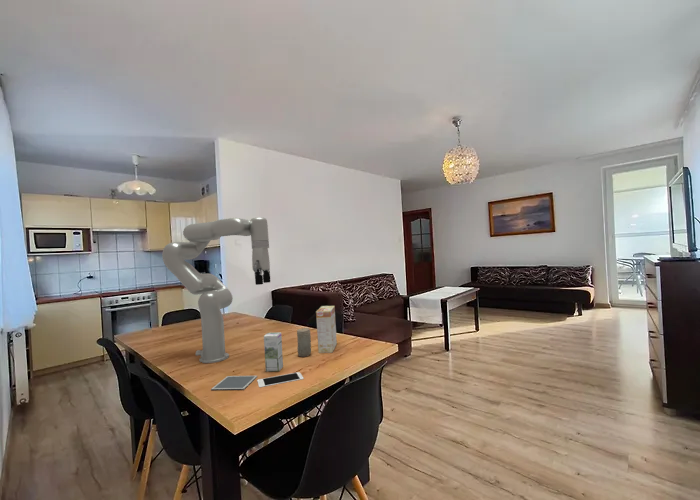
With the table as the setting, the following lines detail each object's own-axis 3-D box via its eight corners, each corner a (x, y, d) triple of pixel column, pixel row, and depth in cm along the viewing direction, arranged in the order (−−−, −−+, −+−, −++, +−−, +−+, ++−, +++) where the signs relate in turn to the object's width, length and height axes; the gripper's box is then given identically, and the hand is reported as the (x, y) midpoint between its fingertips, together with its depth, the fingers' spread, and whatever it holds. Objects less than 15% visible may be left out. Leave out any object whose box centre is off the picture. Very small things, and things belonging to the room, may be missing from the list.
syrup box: (283, 366, 135) (281, 331, 135) (279, 371, 129) (277, 335, 130) (270, 367, 136) (268, 332, 136) (265, 372, 130) (263, 335, 130)
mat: (211, 390, 114) (210, 388, 114) (227, 377, 126) (227, 376, 126) (243, 390, 113) (243, 388, 113) (257, 376, 125) (257, 375, 125)
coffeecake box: (323, 344, 166) (321, 306, 167) (337, 343, 166) (335, 305, 166) (317, 353, 151) (315, 311, 152) (332, 352, 151) (330, 310, 151)
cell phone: (257, 381, 122) (257, 379, 122) (299, 373, 128) (299, 371, 128) (259, 388, 115) (259, 387, 115) (304, 380, 120) (304, 378, 120)
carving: (298, 358, 145) (296, 331, 145) (297, 353, 153) (296, 327, 153) (312, 356, 146) (310, 330, 147) (311, 352, 154) (309, 326, 154)
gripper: (259, 246, 155) (261, 282, 155) (244, 245, 138) (247, 286, 138) (274, 245, 155) (277, 281, 154) (261, 244, 138) (264, 284, 137)
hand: (263, 283), depth 146 cm, fingers open, 9 cm apart
